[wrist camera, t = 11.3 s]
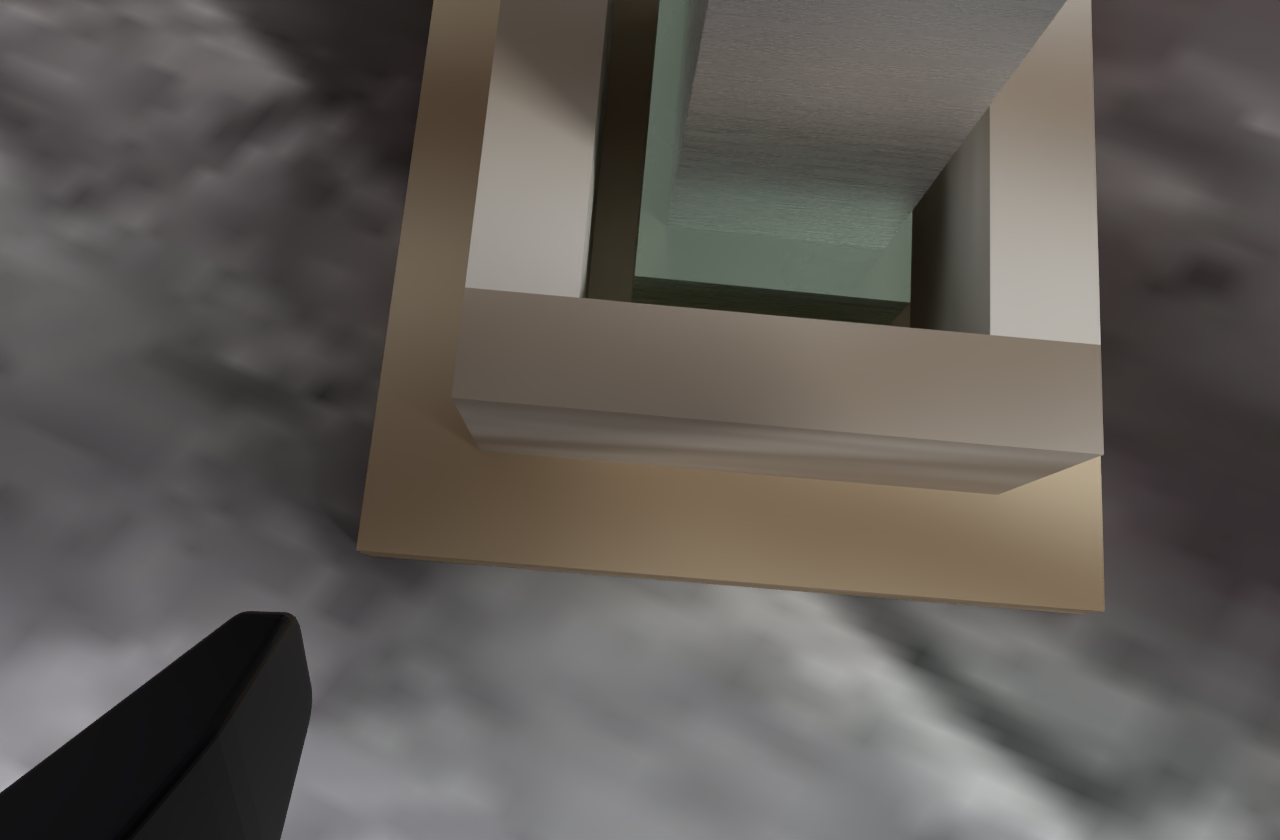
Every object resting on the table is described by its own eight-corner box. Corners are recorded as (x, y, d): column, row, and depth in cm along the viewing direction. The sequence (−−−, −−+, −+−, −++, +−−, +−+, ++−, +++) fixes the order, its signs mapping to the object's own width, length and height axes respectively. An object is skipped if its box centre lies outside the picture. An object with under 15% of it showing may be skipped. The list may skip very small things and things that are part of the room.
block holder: (1075, 613, 17) (1242, 601, 13) (369, 556, 17) (292, 522, 12) (1060, -89, 20) (1190, -292, 16) (467, -151, 20) (432, -376, 16)
